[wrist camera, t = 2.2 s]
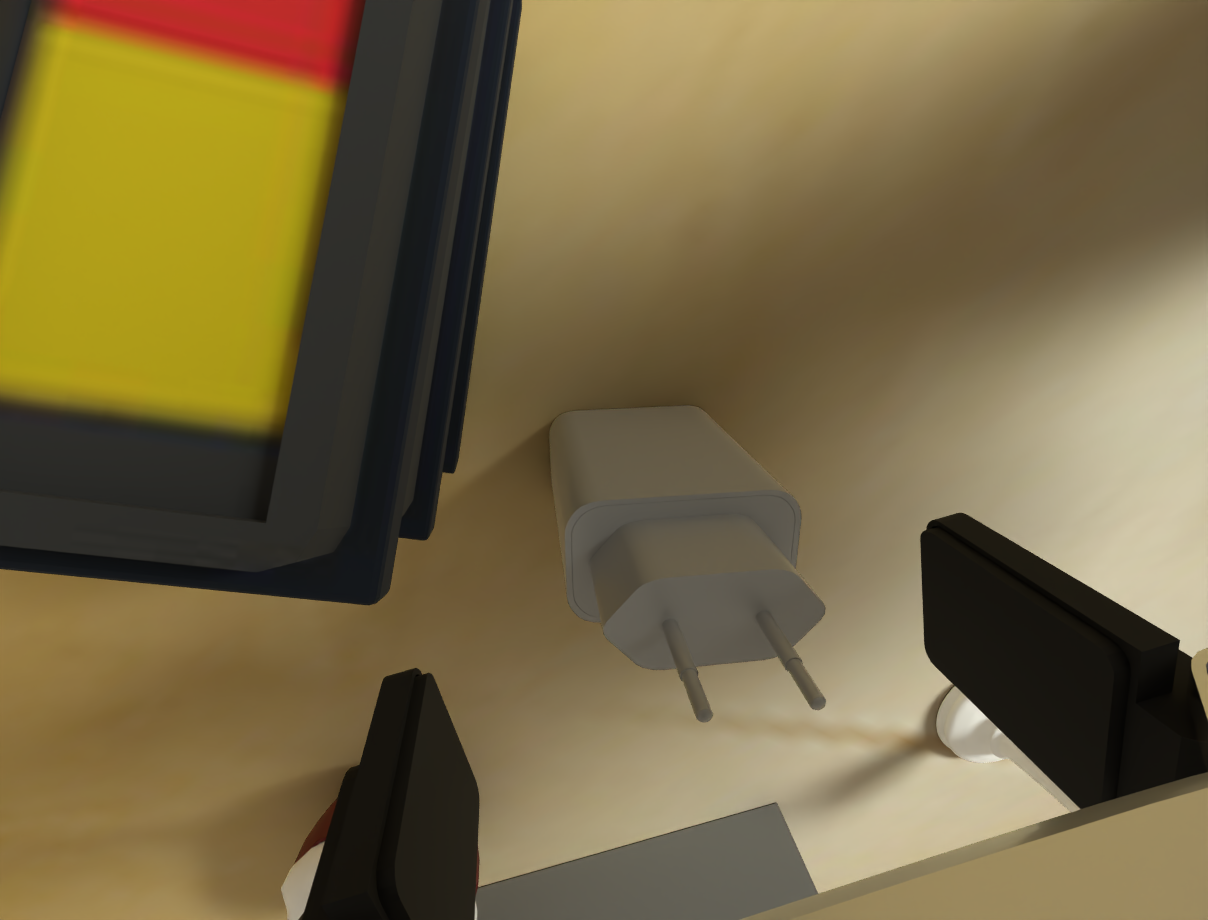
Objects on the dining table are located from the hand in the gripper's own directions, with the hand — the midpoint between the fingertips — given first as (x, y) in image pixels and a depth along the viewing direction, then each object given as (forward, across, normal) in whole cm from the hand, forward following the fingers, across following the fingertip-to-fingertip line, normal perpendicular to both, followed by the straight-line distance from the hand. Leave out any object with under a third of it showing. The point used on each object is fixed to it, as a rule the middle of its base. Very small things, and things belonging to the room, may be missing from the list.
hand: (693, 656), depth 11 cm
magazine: (+10, +3, -9) cm, 14 cm away
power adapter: (+10, -1, 0) cm, 10 cm away
